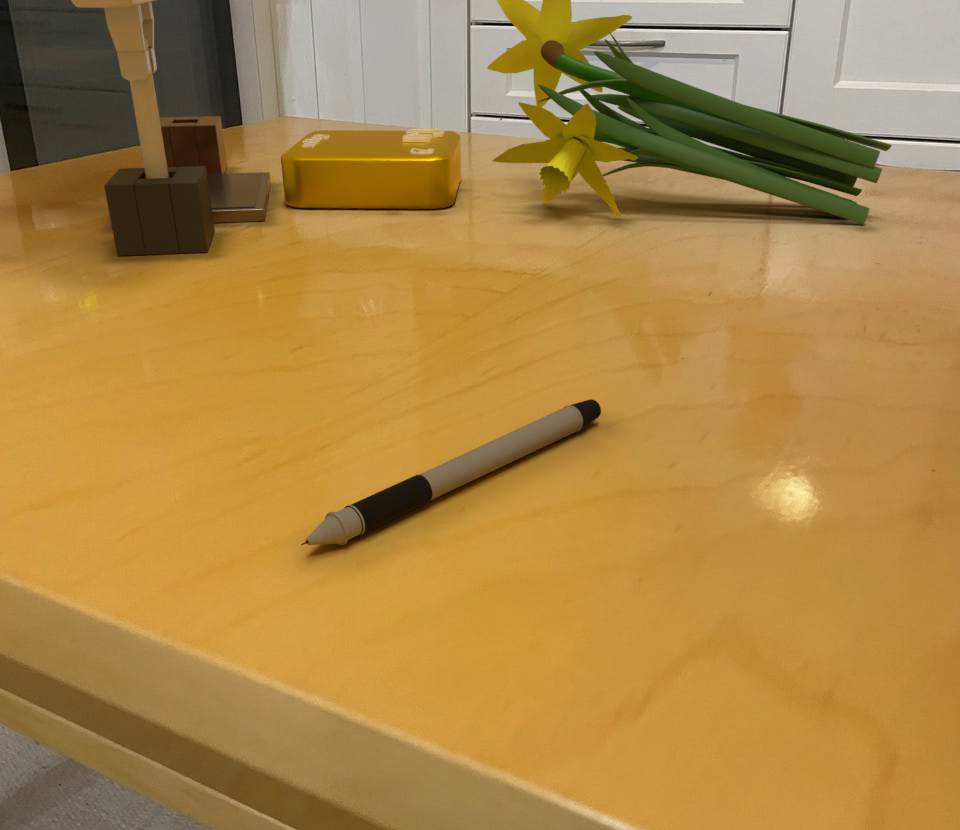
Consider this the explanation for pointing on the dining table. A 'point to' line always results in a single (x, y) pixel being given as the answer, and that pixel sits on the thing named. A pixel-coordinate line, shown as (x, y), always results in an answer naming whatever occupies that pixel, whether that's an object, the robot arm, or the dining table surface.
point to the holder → (160, 211)
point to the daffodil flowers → (667, 122)
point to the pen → (451, 474)
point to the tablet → (239, 196)
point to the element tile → (373, 169)
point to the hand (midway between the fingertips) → (140, 77)
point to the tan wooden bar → (149, 126)
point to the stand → (194, 142)
